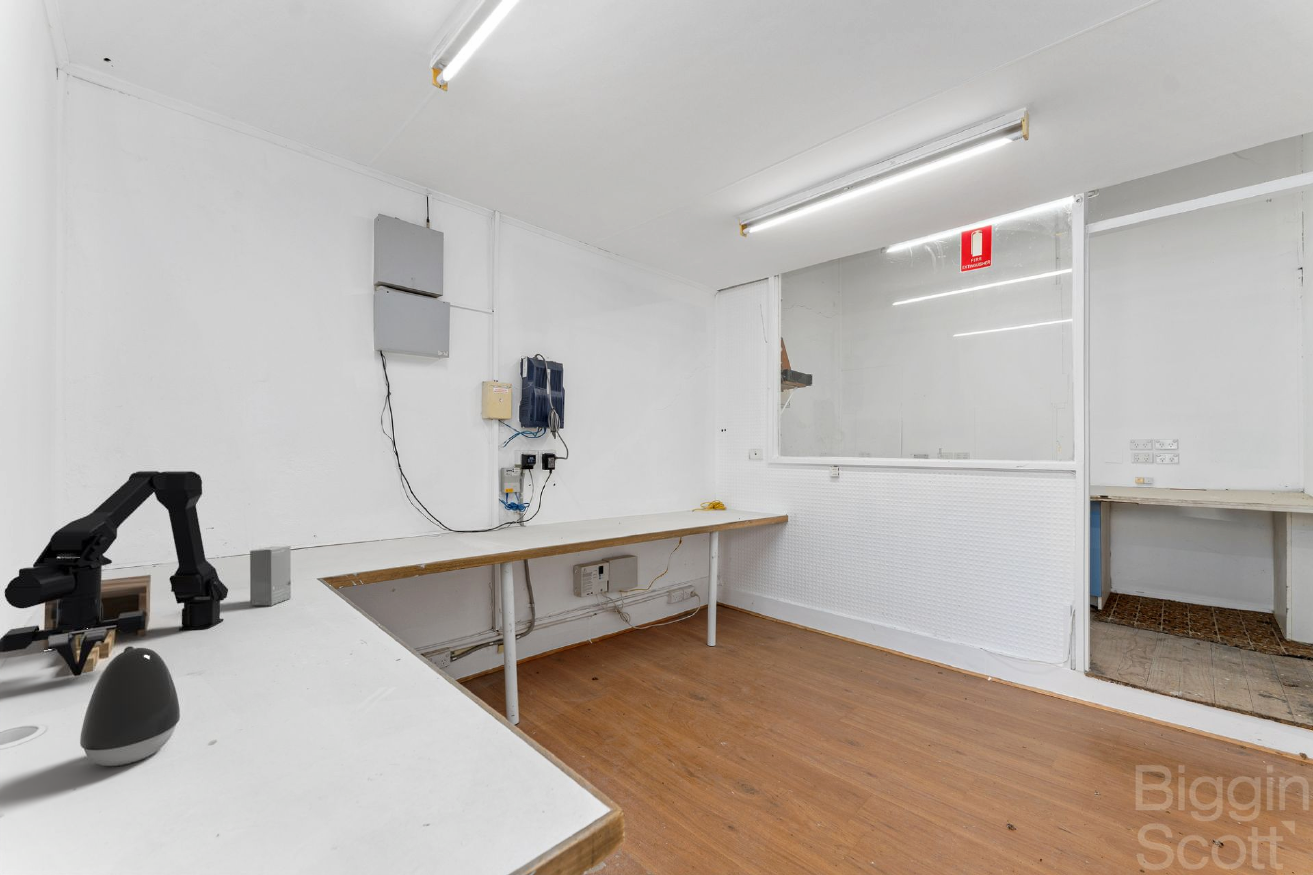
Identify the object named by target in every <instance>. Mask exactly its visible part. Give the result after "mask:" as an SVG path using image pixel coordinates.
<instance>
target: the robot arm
mask: <svg viewBox="0 0 1313 875" xmlns="http://www.w3.org/2000/svg"><path fill="white" fill-rule="evenodd" d="M153 494H154V495H155V498H156V500H157V501H158V502H159V503H160V504H161V505H162V506H163V507H164V508H165V509H167V511H168V516H169V522H170V527H171V532H172V536H173V542H174V548H175V553H176V557H177V563H178V567H177V569H176V571H175V572H174V574H172V575H170V577H169V582H170V585H171V586H170V587H171V588H170V589H171V590H170V592H172V593H173V594H174V597H175V601H176V604H183V608H182V609H181V626H179V628H178V630H179V631H185V630H186V631H187V630H200V629H201V630H202V629H204V630H206V629H211V628H212V627H213V626H216V625H218V624H220V623H222V622H224V618H221V617H220V616H221V602H222V601H224V600H225V599H227V597H228V594H229V588H227V586H226V585H225V584H224V583H223V582H222V581H221V580H220V577H219V575H218V572H217V569H216V568H215V567H214V566H213V565H212V564H211V563H210V562H209V561H208V560H207V558H206V555H205V554H206V553H205V550H204V544H203V538H202V533H201V527H200V522H199V516H198V511H197V510H198V509H197V503H198V502H199V500H200V498H201V497H202V495H203V480H202V477H201V475H200V474H199V473H197V472H196V471H192V470H191V471H187V470H186V471H183V470H181V471H180V470H178V471H177V470H176V471H175V470H174V471H169V470H168V471H167V470H166V471H157V470H147V471H146V470H143V471H142V470H140V471H136V472H133V473H131V474H130V475H129V478H128V480H126V482H125V483H124V484H122V485H121V486H120V487H119V488H118V489H116V490H115V491H114V492H113V493H111V495H110V496H109V497H107V499H105V501H104V502H102V503H101V504H100V505H99V506H97V507H96V508H95V509H94V510H93V511H92V512H91V513H89V514H87V515H85V516H83V517H81V518H78V519H75V520H73V521H70V522H69V523H67V524H65V525H64V526H63V527H61V528H59V529H57V530H56V531H55V532H54V533H53V534H52V535H51V537H50V539H49V540H50V541H49V542H48V543H47V545H46V546H45V547H44V549H43V550H42V552H41V553H40V554H39V556H38V557H37V559H36V560H35V561H34V563H33V565H32V567H30V566H29V567H23V568H19V570H18V576H16V577H14V578H13V579H11V580H10V581H9V583H8V584H7V586H6V588H4V598H5V600H6V602H7V603H8V604H9V605H10V606H12V607H14V608H17V609H27V608H32V607H35V606H39V605H43V604H45V603H46V602H50V601H54V600H57V603H53V604H52V609H51V620H53V621H55V620H57V628H51V629H45V630H44V629H40V626H39V625H37V624H36V625H32V626H24V627H17V628H11V629H10V630H8V631H7V632H6V633H5V634H3V635H2V637H0V653H8V652H14V651H20V650H26V649H27V648H28V647H29V646H31V645H32V644H33V643H34V642H39V641H44V640H47V639H48V641H49V645H48V647H47V649H53V650H56V652H57V653H58V654H59V655H60V656H61V657H62V659H63V660H64V661H65V663H66V665H67V664H68V665H67V666H68V668H69V671H70V670H71V671H72V673H73V675H72V676H74V677H77V676H81V674H83V673H82V670H83V668H84V666H85V663H86V661H87V659H88V656H89V654H90V652H91V650H92V649H93V647H94V645H95V644H96V642H99V641H103V640H104V639H105V637H106V635H107V630H111V629H115V630H117V631H118V632H120V633H122V634H127V633H134V632H138V631H140V630H144V629H145V628H146V624H147V612H145V611H144V610H142V611H135V612H128V613H121V614H120V616H119V618H118V619H113V620H106V621H101V619H102V618H103V605H102V602H101V580H102V574H103V573H102V569H103V567H102V566H107V565H111V564H112V563H113V560H112V559H110V558H108V557H106V556H105V555H104V554H105V553H106V552H107V551H109V549H110V548H111V546H112V544H113V543H114V542H115V540H116V539H117V537H118V529H119V527H121V526H120V525H122V524H123V523H124V522H125V521H126V520H127V519H129V517H130V516H131V515H132V514H133V513H134V512H135V511H137V509H138V508H139V507H140V506H141V505H143V503H145V501H146V500H148V499H149V498H150V496H152V495H153ZM83 628H84V629H83ZM85 628H88V629H85ZM70 630H73V631H70ZM64 631H69V632H64ZM79 634H85V635H84V636H85V637H84V639H83V641H82V644H81V650H80V655H79V661H78V658H77V651H76V635H79Z"/></svg>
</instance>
